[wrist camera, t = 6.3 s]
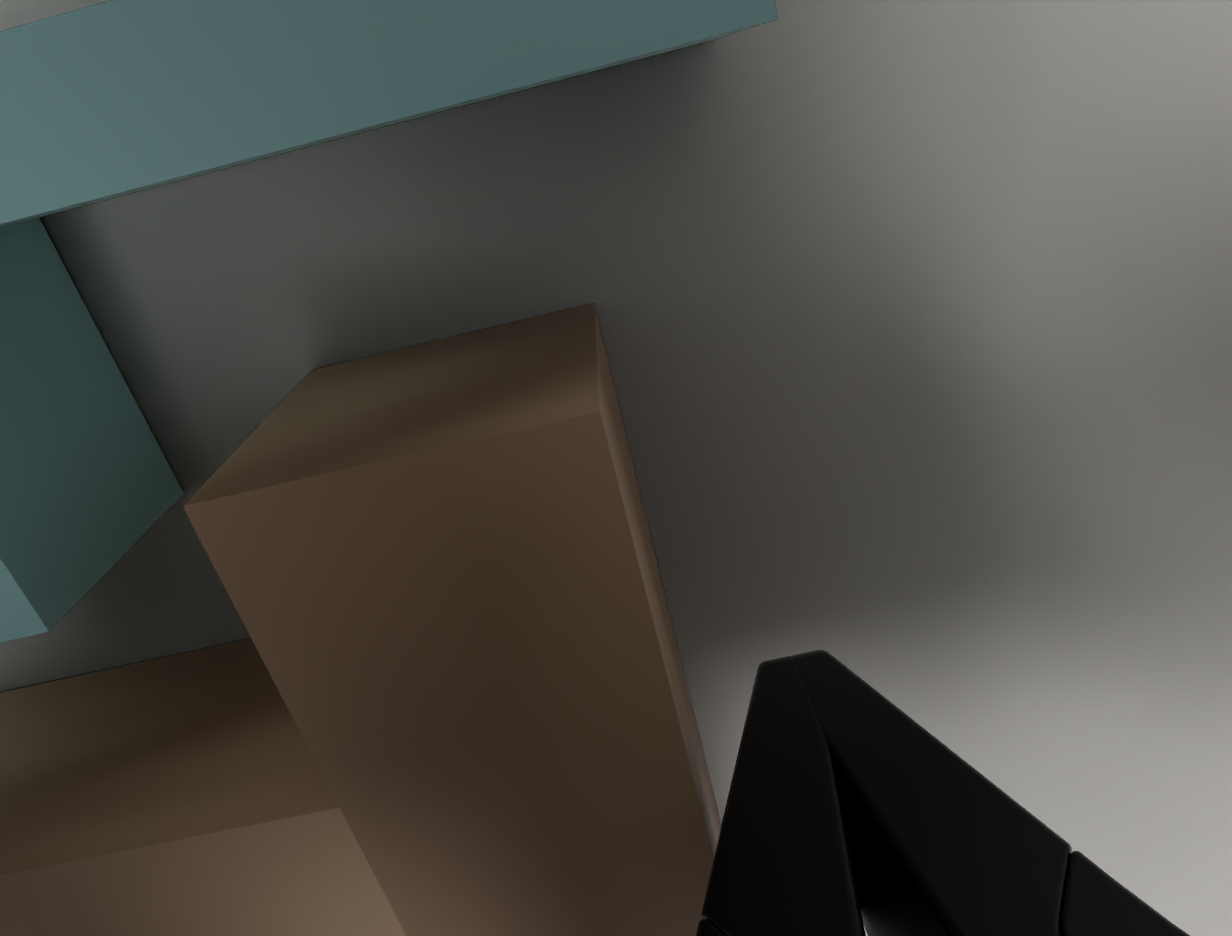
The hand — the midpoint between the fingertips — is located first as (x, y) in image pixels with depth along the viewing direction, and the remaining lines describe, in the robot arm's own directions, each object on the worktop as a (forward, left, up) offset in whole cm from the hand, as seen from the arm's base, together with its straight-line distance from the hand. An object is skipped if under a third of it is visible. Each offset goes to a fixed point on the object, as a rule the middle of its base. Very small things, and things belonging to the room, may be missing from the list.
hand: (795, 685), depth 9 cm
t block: (+6, 0, -1) cm, 6 cm away
